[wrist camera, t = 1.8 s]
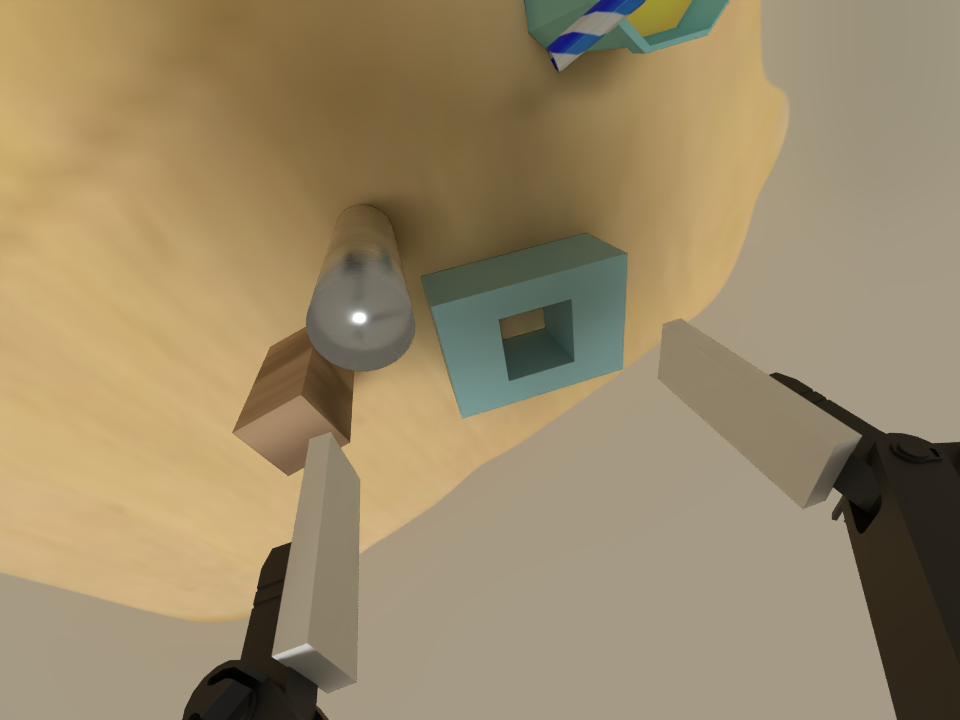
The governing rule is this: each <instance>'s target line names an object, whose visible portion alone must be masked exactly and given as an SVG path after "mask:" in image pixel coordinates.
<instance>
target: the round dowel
mask: <svg viewBox="0 0 960 720" xmlns="http://www.w3.org/2000/svg"><path fill="white" fill-rule="evenodd" d="M306 327H307V332H308V336H309V338H310V341H311V343H312V344H313V346H314V348H315V349H316V350H317V351H318V352H319V353H320V354H321V355H322V356H323V357H324V358H325V359H327V360H328V361H329V362H331V363H333V364H335V365H337V366H339V367H342V368H345V369H349V370H355V371H370V370H376V369H380V368H383V367H386V366H388V365H390V364H392V363H393V362H395V361H397V360H398V359H399V358H400V357H401V356H402V355H403V354H404V353H405V352H406V351H407V349H408V348H409V346H410V344H411V342H412V340H413V337H414V332H415V319H414V315H413V311H412V306H411V302H410V298H409V294H408V290H407V286H406V281H405V277H404V273H403V269H402V265H401V261H400V256H399V252H398V248H397V244H396V240H395V236H394V231H393V228H392V225H391V223H390V221H389V219H388V218H387V217H386V216H385V215H384V214H383V213H382V212H381V211H380V210H378V209H376V208H374V207H371V206H368V205H356V206H353V207H350V208H348V209H347V210H345V211H344V212H343V213H342V214H341V215H340V217H339V218H338V220H337V223H336V226H335V229H334V232H333V235H332V238H331V241H330V244H329V247H328V251H327V254H326V257H325V260H324V263H323V266H322V269H321V272H320V275H319V278H318V281H317V284H316V287H315V290H314V293H313V296H312V300H311V303H310V306H309V309H308V312H307V318H306Z"/></svg>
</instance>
